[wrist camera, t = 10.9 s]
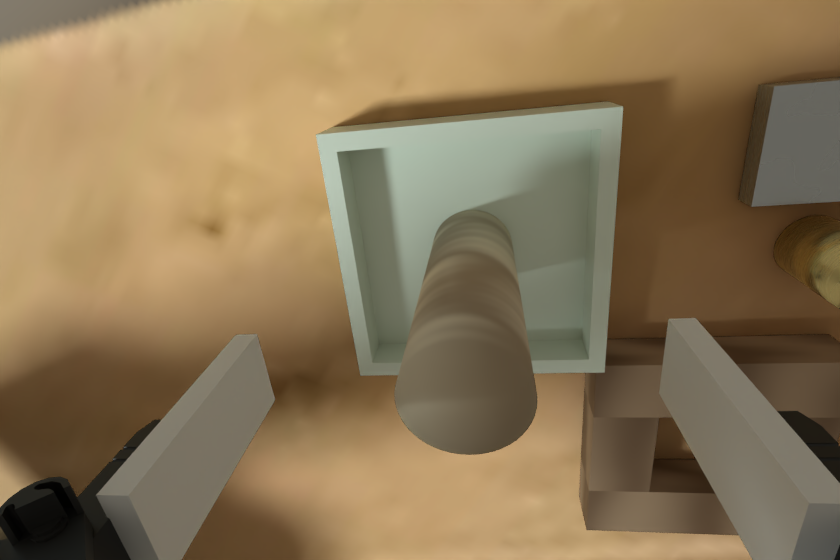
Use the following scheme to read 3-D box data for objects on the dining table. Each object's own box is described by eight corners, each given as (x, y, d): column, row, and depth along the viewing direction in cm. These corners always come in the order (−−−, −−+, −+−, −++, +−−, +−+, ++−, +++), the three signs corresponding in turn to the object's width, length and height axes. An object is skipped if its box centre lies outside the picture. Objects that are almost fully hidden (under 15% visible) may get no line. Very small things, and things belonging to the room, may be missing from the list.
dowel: (436, 285, 25) (402, 453, 15) (429, 212, 24) (386, 341, 13) (512, 282, 25) (537, 455, 14) (511, 207, 23) (537, 338, 12)
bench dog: (768, 275, 24) (819, 314, 20) (780, 217, 22) (838, 247, 19) (835, 272, 23) (900, 312, 20) (852, 213, 22) (924, 243, 18)
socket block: (579, 495, 31) (586, 529, 29) (586, 339, 26) (596, 366, 24) (780, 500, 29) (805, 537, 27) (829, 334, 25) (864, 362, 22)
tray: (370, 350, 28) (360, 375, 26) (332, 127, 23) (316, 134, 21) (594, 345, 26) (604, 372, 24) (608, 101, 21) (623, 106, 19)
